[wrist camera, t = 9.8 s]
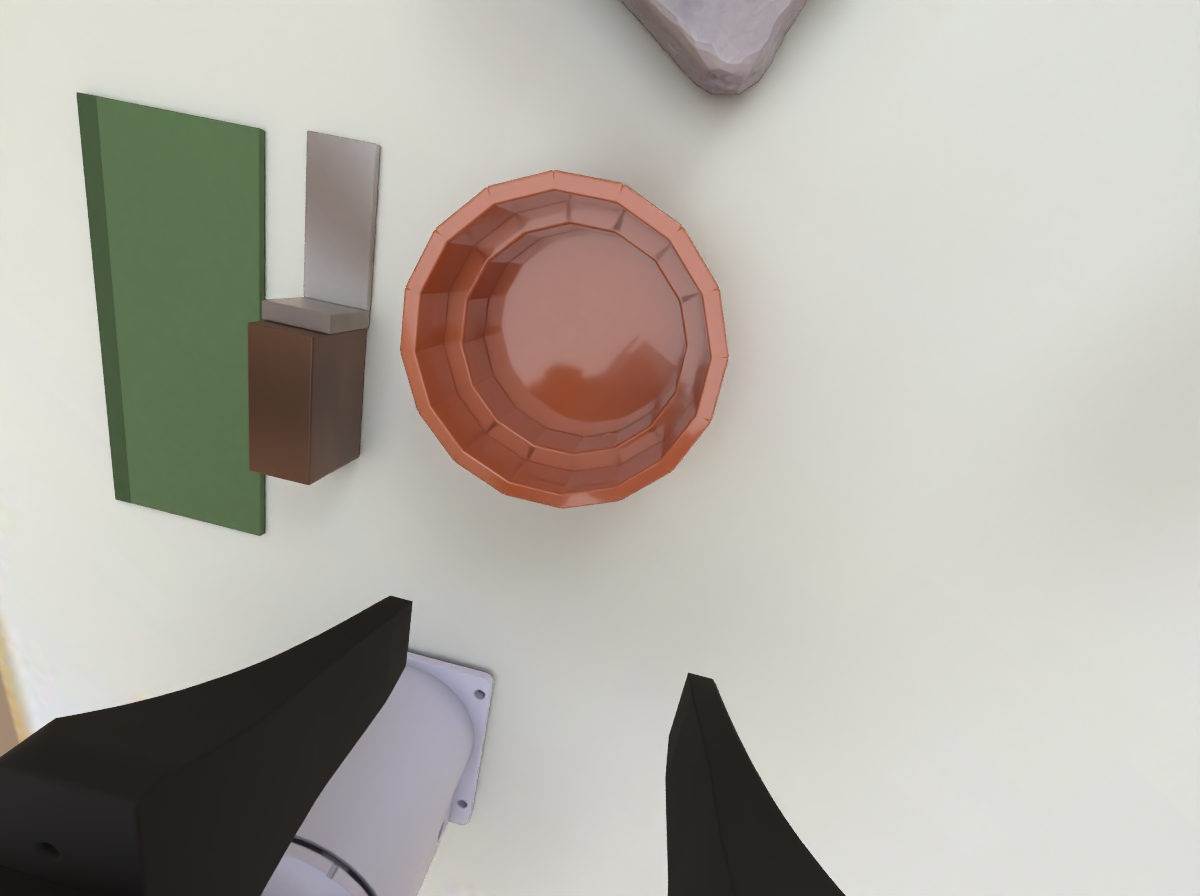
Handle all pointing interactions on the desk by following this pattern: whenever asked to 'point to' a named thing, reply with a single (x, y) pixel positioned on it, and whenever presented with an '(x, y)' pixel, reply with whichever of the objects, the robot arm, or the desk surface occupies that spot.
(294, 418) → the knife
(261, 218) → the green flat rectangular slab
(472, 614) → the desk surface
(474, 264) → the bowl
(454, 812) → the robot arm
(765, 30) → the stone block
